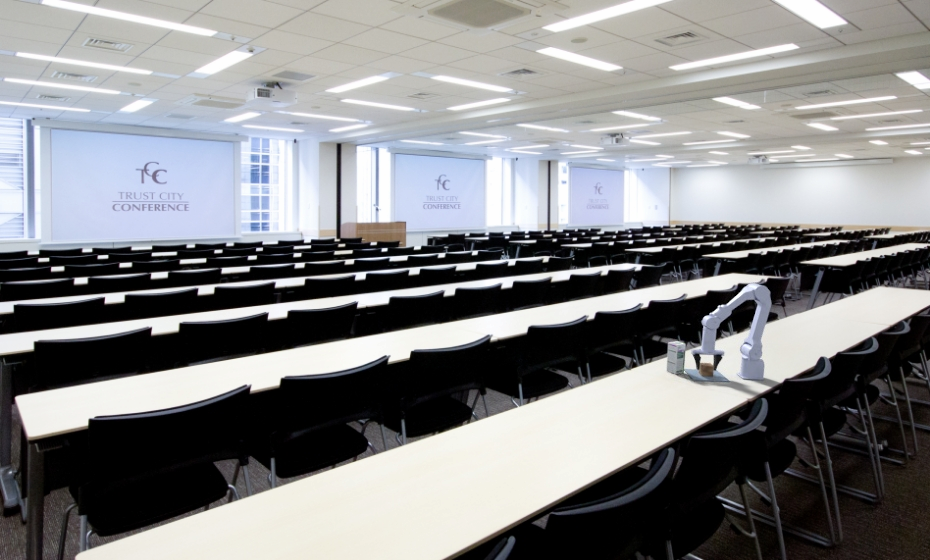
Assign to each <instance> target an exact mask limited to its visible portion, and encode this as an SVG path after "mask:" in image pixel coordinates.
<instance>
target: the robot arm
mask: <svg viewBox="0 0 930 560" xmlns="http://www.w3.org/2000/svg"><path fill="white" fill-rule="evenodd" d="M749 300H750V301H752V300H754V301H755V302H756V304H757V306H756V309H755V314H754V316H753V320H752V323H751V327H750V329H749V333H748V336H747V337H746V338H745V339H744V340H743V342H742V344H741V345H740V348H739V351H740V353H741V360H740V361H741V362H740V371H739V372H736V375H738V376H739V377H740V378H741V379H743V380H762V381H763V380H765V379H764V376H765V375H764V374H765V362H764V360H763V358H762V356H763V344H762V337H763V335H764V332H765V331H764V330H765V328H766V324H767V321H768V318H769V315H770V310H771V307H772V300H771V291H770V290H769V289H768V287H767V286H766V285H761V284H758V283H756V282H750V283H748V284H747V285H746V286H744V287H743V288H742V289H741V290H740V292H738V294H737V295H736V296H734V297H733V298H732V299H731V300H729V302H728V303H726V304H721V305H718V306H717V308H716V309H715V310H714V311H712V312H710V313H709V315H705V316H704V317H703V318H702V320H701V321H700V322H701V325H702V326H703V328H702V338H701V348H700V349H697V348H696V349H691V350H690V354H691V355H692V356H693V359H694V362H695V367H696V368H695V369H697V370H699V369H700V363H701V359H702V357H701V355H702V356H703V355H704V356H705V355H706V356H707V355H708V356H713V364H712V365H713V366H714V371H716V370H717V368H718V367H719V365H720V362H721V361H722V360H723V357H724V356H725V351H724V350H717V349H716V348H715V347H716V340H717V339H716V338H717V329H719V327H720V324H721V323H722V322H723V321H724V320H726V319H728V317H730V316H731V314H732V311H733V310H735V308H737V307H738V306H740V305H741V304H743V303H744V302H746V301H749ZM761 358H762V359H761Z"/></svg>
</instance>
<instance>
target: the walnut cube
mask: <svg viewBox="0 0 930 560" xmlns="http://www.w3.org/2000/svg"><path fill="white" fill-rule="evenodd" d="M713 373H714V366H713V364H712V363H711V362H700V369H699V374H700V375H701V376H708V377H713Z"/></svg>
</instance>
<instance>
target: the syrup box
mask: <svg viewBox="0 0 930 560" xmlns="http://www.w3.org/2000/svg"><path fill="white" fill-rule="evenodd" d="M686 349H687V347H686V343H685V342H682V341H679V340H677V341H670V342H669V341H668V343H667V355H666V356H667V357H666V372H667V373H670V372H671V373H670V374H673V373H674V374H673V375H679V373H680V374H684V373H685V372H684V369H685V361H686Z"/></svg>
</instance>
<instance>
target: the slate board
mask: <svg viewBox="0 0 930 560" xmlns="http://www.w3.org/2000/svg"><path fill="white" fill-rule="evenodd" d="M684 371H685V372H686V373H687V374H686V373H685V372H684V373H685V374H686V375H688V376H689V378H691V380H692V381H694V382H695V381H696V382H716V383H717V382H719V383H721V382H722V383H730V382H731V381H730V379H728V378H727V377H726V376H725V375H723V374H722V373H721V372H720V371H719V370H717V369H716V371H714V373H713V377H708V376H701V375H700V374H699V370H697V369H696V368H684Z"/></svg>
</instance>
